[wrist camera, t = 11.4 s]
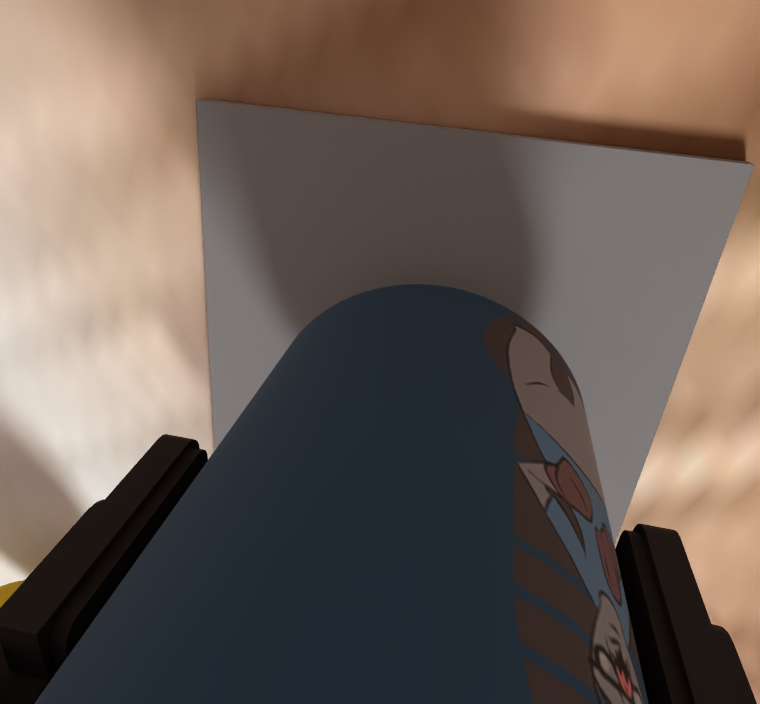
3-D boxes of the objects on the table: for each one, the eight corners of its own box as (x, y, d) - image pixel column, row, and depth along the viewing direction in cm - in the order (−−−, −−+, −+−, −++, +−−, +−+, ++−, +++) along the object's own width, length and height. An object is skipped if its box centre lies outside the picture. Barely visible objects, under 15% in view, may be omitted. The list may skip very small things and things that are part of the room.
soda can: (262, 453, 16) (-190, 1211, 6) (335, 214, 13) (-432, 978, 2) (502, 549, 16) (497, 1491, 6) (638, 334, 13) (1264, 1672, 2)
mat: (747, 161, 13) (754, 164, 12) (599, 570, 18) (601, 580, 18) (203, 98, 14) (196, 99, 14) (221, 495, 20) (217, 504, 19)
